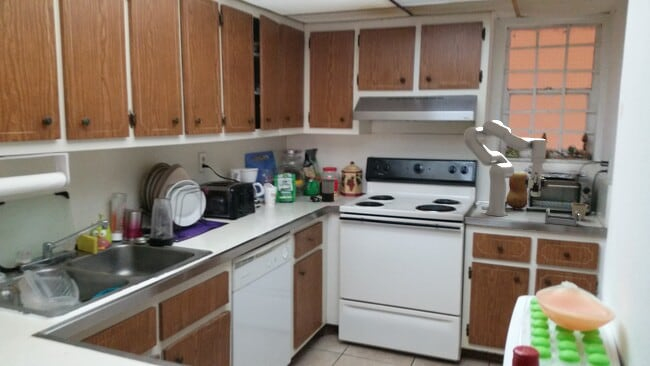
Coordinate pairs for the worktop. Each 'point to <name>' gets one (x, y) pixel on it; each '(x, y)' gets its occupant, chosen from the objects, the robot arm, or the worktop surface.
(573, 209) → the flower pot
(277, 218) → the worktop surface
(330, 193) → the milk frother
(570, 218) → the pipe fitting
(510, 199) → the butternut squash
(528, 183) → the pneumatic valve
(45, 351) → the worktop surface
